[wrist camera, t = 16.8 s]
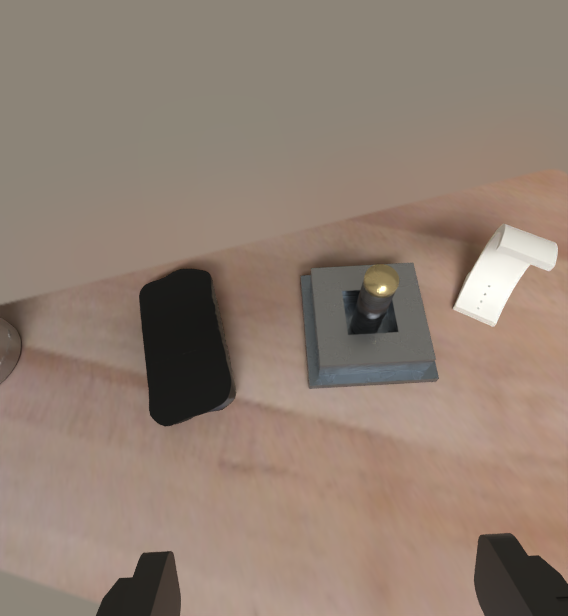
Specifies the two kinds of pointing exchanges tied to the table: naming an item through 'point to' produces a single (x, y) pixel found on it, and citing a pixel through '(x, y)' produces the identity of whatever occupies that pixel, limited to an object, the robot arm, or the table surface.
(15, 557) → the table surface
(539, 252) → the headphone stand
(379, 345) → the square hole socket
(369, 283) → the brass pin
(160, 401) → the black sponge
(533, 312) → the table surface
